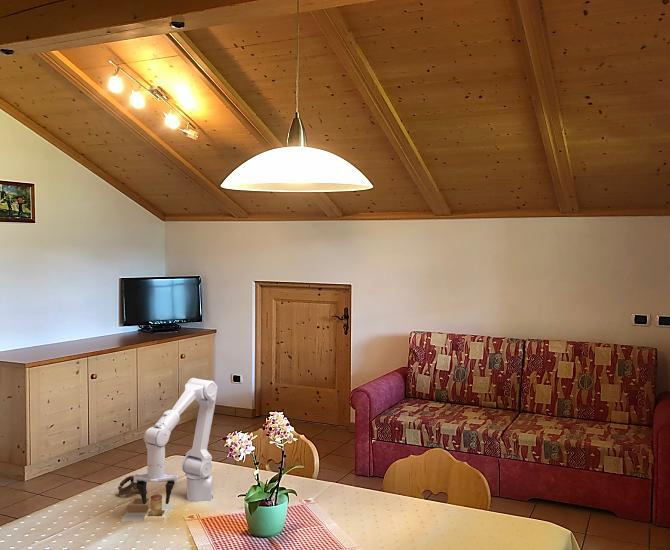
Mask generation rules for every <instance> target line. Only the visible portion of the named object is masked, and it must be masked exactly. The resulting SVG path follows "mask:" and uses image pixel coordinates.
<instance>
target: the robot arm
mask: <svg viewBox="0 0 670 550" xmlns="http://www.w3.org/2000/svg"><path fill="white" fill-rule="evenodd" d="M218 389H219V387H218V385H217V383H216V382H215V381H214V380H208V379H200V378H196V377H192V378H190V379H189V380H188V381H187V383H185V385H184V391H183V392H182V393H181V395H180V397H179V399H178V400H177V401H176V402H175V404H174V406H173V407H172V408H171V409H167V410H166V411H164V412H163V414H162V416H160V418H159V419H158V420H157V422H156V423H155V424H154V425H153V426H151V427H149V428H148V429H146V431H144V436H143V441H144V443H145V448H146V449H147V451H146V452H147V454H146V455H147V457H146V459H147V461H146V462H147V463H146V464H147V473H144V474H138V475H136V474H135V476H134V475H133V476H134V483H137V485H136V487H137V489H136V490H137V491H138V492H139V494H140V497H141V498H142V502H143V504H145V503H146V497H147V494H146V489H147V484H148V483H166V484H165V504H170V498H171V494H172V490H173V489H174V486H175V484H176V483H177V484H178V482H179V474H169V473H166V444H168V442H169V440H170V436H171V435H172V434H171V433H172V431H173V430H174V429H175V427H176V426H177V424H179V422H180V416H181V415H182V413H184V411H185V410H186V409H187V408H188V407H189V406H190V405H191V404H192V402H193V401H197V403H198V404H199V408H198V413H197V419H196V424H195V430H194V434H193V440H192V441H193V442H192V447H191V448H190V449H189V450H188V451H187V452H185V456H184V459H183V461H182V464H181V469H182V472H183V473H184V474H185V475H184V476H185V477H186V500H187V501H188V502H196V503H197V502H212V499H213V497H214V476H212V475H211V472H212V470H213V464H212V460H213V455H212V454H211V453H210V452H209V451H208V445H209V442H210V435H211V429H212V423H213V418H214V413H215V407H216V399H217V395H218Z"/></svg>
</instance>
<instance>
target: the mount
mask: <svg viewBox="0 0 670 550" xmlns="http://www.w3.org/2000/svg"><path fill="white" fill-rule="evenodd" d="M174 507H175V504H173V503H168V504H166V503H164V504H163V503H162V516H151V496H150V497H149V496H146V503H145V504H143V502H142V498H141V496H139V497H132V498H131V499H130V501H129V503H128V504H127V511H125V513H124V515H123V516H122V518H121V519H120V522H167V520H168V518H169V516H170V514H171V512H172V510H173V508H174Z"/></svg>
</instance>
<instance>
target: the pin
mask: <svg viewBox="0 0 670 550" xmlns="http://www.w3.org/2000/svg"><path fill="white" fill-rule="evenodd" d="M150 497H151V516H162V504H163V503H162V502H163V501H162V497H163V496H162V494H158V493H157V494H156V493H155V494H151V495H150Z"/></svg>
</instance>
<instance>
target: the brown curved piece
mask: <svg viewBox="0 0 670 550" xmlns="http://www.w3.org/2000/svg"><path fill="white" fill-rule="evenodd" d="M135 475H139V474H135ZM135 475H129V476H126V477H125V478H124V479H123V480H122V481H121V482H120V483H119V486H117V489H118V495H119V496H125V495H126V496H127V495H128V494H130V495H132V494H133V493H132V489H133V490H138V489H137V487H136V485H137V483H134V476H135ZM128 482H130V483H129V484H128V485H127V486H125V484H127V483H128ZM124 486H125V487H124ZM146 495H148V490H147V488H146Z"/></svg>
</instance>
